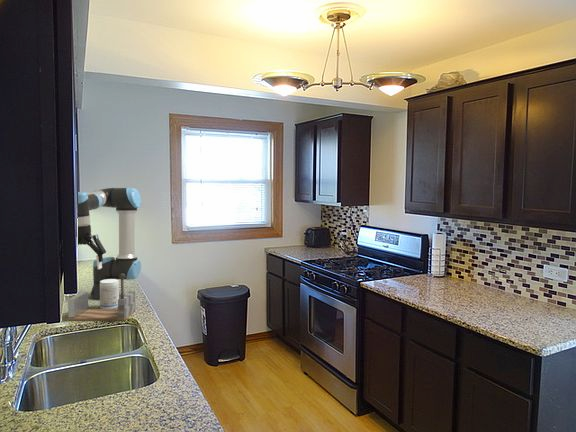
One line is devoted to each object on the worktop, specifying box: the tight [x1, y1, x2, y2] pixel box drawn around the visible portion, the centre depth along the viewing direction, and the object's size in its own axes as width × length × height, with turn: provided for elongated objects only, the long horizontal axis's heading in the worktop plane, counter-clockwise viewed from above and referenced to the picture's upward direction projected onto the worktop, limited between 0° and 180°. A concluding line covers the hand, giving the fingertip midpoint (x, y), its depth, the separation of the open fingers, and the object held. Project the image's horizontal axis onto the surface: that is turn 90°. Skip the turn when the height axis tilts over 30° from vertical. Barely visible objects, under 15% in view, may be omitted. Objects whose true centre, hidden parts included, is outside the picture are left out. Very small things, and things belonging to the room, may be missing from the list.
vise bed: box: [65, 273, 136, 322], centre depth 207 cm, size 16×28×23 cm, turn 92°
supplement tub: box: [99, 279, 120, 309], centre depth 222 cm, size 10×10×15 cm
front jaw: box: [67, 291, 89, 318], centre depth 207 cm, size 15×3×9 cm, turn 2°
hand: (86, 268), depth 197 cm, fingers open, 13 cm apart
